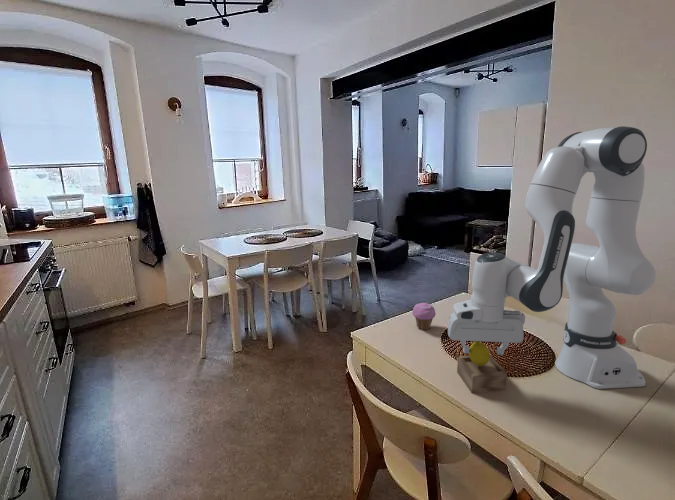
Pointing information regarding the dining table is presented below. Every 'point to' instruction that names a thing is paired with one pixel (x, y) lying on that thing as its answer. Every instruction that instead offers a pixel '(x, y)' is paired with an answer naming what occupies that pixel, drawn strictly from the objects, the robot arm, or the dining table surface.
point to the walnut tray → (481, 375)
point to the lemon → (479, 353)
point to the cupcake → (423, 315)
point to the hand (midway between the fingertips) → (482, 353)
